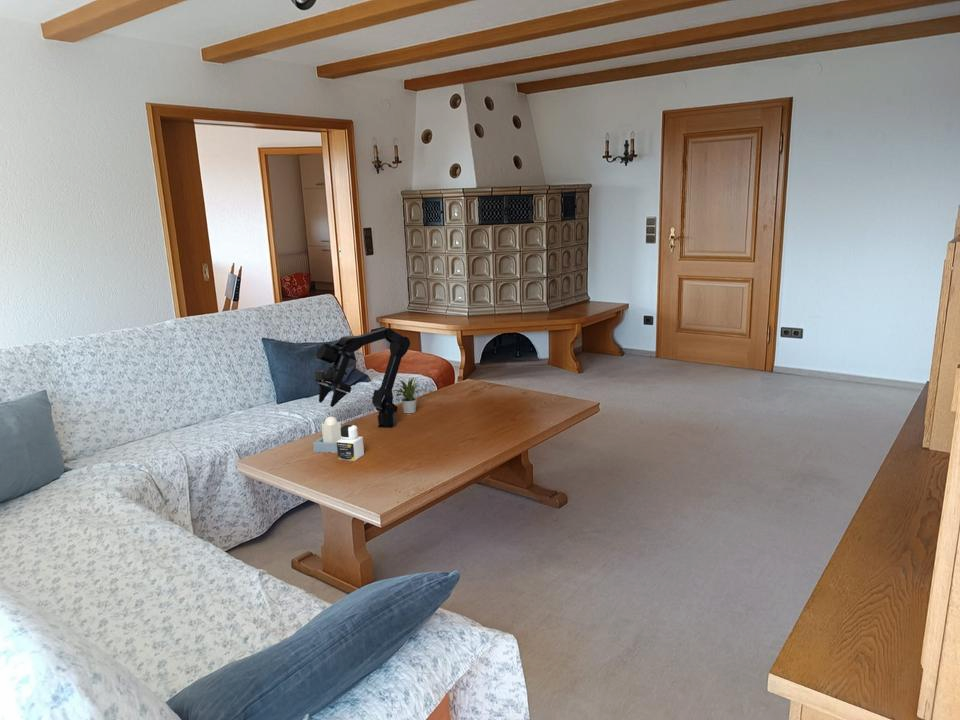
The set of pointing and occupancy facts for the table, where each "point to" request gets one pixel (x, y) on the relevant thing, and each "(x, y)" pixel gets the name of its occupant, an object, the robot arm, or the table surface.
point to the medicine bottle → (350, 444)
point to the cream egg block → (331, 430)
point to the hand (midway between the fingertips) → (325, 404)
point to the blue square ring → (324, 446)
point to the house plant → (408, 396)
